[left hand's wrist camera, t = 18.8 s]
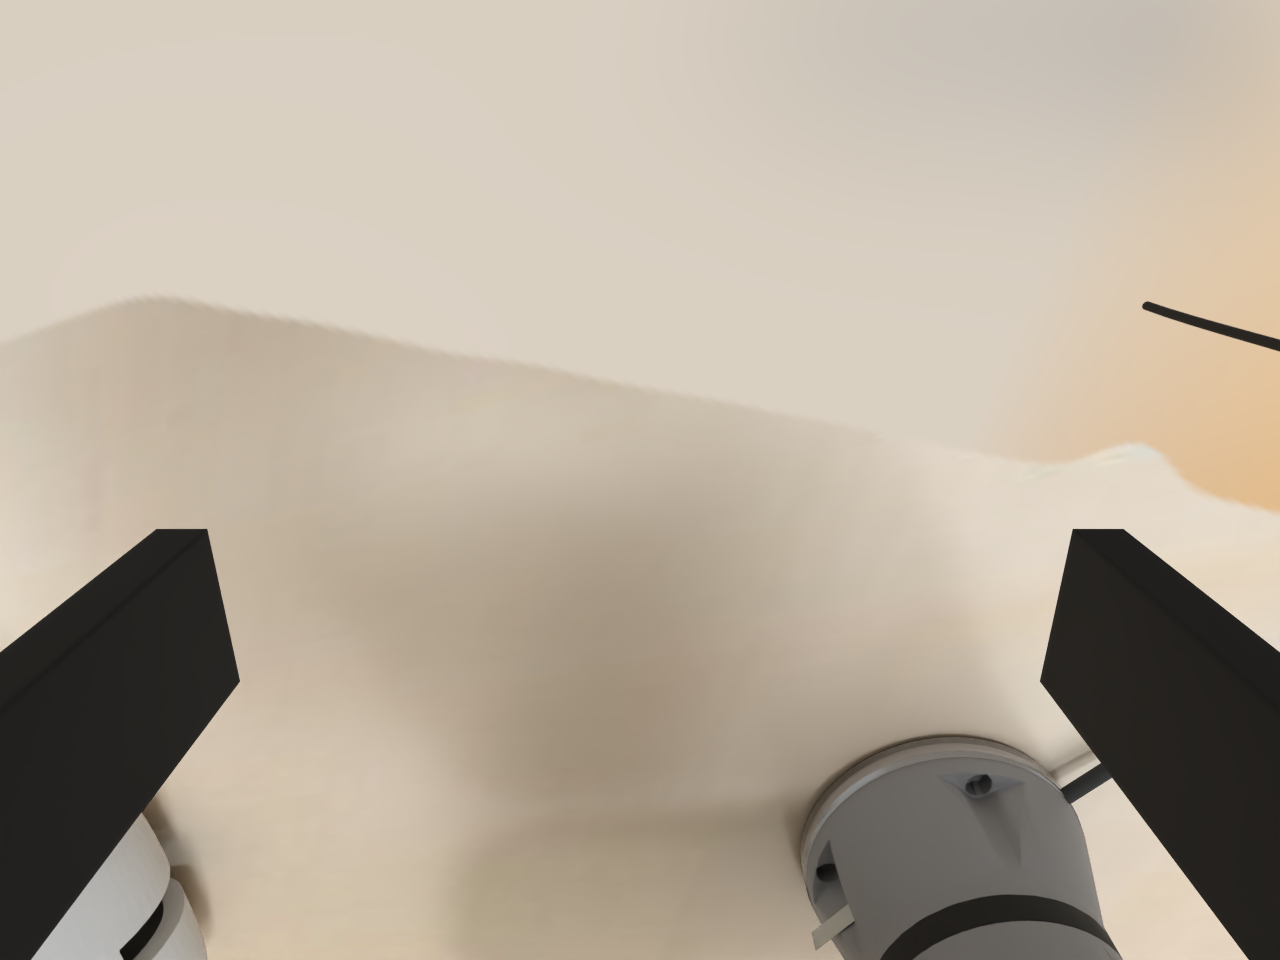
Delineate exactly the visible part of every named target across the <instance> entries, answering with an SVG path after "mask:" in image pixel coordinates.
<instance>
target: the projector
mask: <svg viewBox="0 0 1280 960" xmlns="http://www.w3.org/2000/svg"><path fill="white" fill-rule="evenodd" d="M31 960H207V952H206V947H205V943H204V939H203V936H202V933H201V930H200V927H199V924H198V922H197V919H196V917H195V915H194V912H193V910H192V908H191V905H190V903H189V901H188V899H187V897H186V895H185V893H184V891H183V888H182V886H181V885H180V883H179V882H178V881H177V880H175V879H173V878H170V865H169V861H168V858H167V856H166V854H165V852H164V850H163V848H162V847H161V845H160V843H159V841H158V839H157V837H156V835H155V833H154V832H153V830H152V828H151V826H150V825H149V823H148V821H147V820H146V818H145V817H144V815H143V814H142V813H141V814H140V815H139V817H138V818H137V819H136V821H135V822H134V823H133V825H132V826H131V827H130V829H129V830H128V831H127V833H126V834H125V835H124V837H123V838H122V839H121V841H120V842H119V843H118V845H117V846H116V847H115V849H114V850H113V851H112V853H111V854H110V855H109V857H108V858H107V859H106V861H105V862H104V863H103V865H102V866H101V867H100V869H99V870H98V871H97V873H96V874H95V875H94V877H93V878H92V879H91V881H90V882H89V883H88V885H87V886H86V887H85V889H84V890H83V891H82V893H81V894H80V895H79V897H78V898H77V899H76V901H75V902H74V903H73V905H72V906H71V907H70V909H69V910H68V911H67V913H66V914H65V915H64V917H63V918H62V919H61V921H60V922H59V923H58V925H57V926H56V927H55V929H54V930H53V931H52V933H51V934H50V935H49V937H48V938H47V939H46V941H45V942H44V943H43V945H42V946H41V947H40V949H39V950H38V951H37V953H36V954H35V955H34V957H33V958H32V959H31Z"/></svg>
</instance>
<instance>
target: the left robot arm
mask: <svg viewBox="0 0 1280 960" xmlns="http://www.w3.org/2000/svg"><path fill="white" fill-rule="evenodd" d="M1142 308H1143V309H1144V310H1146V311H1149V312H1152V313H1155V314H1158V315H1161V316H1163V317H1167V318H1169V319H1172V320H1176V321H1179V322H1182V323H1185V324H1188V325H1191V326H1195V327H1198V328H1201V329H1204V330H1208V331H1211V332H1215V333H1218V334H1221V335H1225V336H1228V337H1231V338H1235V339H1238V340H1242V341H1245V342H1248V343H1252V344H1256V345H1259V346H1262V347H1266V348H1269V349H1272V350H1276V351H1279V352H1280V339H1276V338H1273V337H1269V336H1265V335H1261V334H1258V333H1254V332H1251V331H1247V330H1243V329H1239V328H1236V327H1232V326H1229V325H1225V324H1221V323H1218V322H1214V321H1211V320H1207V319H1204V318H1200V317H1197V316H1193V315H1190V314H1187V313H1183V312H1180V311H1177V310H1173V309H1170V308H1167V307H1164V306H1161V305H1158V304H1155V303H1152V302H1149V301H1147V302H1144V303H1143V305H1142ZM239 682H240V679H239V674H238V670H237V665H236V661H235V656H234V651H233V647H232V642H231V637H230V633H229V628H228V624H227V619H226V614H225V610H224V605H223V600H222V596H221V591H220V586H219V582H218V577H217V573H216V568H215V563H214V559H213V554H212V549H211V545H210V540H209V535H208V531H207V529H156V530H155V531H154V532H152V533H151V534H150V535H149V536H147V537H146V538H145V539H143V540H142V541H141V542H140V543H138V544H137V545H136V546H135V547H133V548H132V549H131V550H129V551H128V552H127V553H126V554H124V555H123V556H122V557H121V558H119V559H118V560H117V561H116V562H114V563H113V564H112V565H110V566H109V567H108V568H107V569H105V570H104V571H103V572H102V573H100V574H99V575H98V576H97V577H95V578H94V579H93V580H91V581H90V582H89V583H88V584H86V585H85V586H84V587H83V588H81V589H80V590H79V591H77V592H76V593H75V594H74V595H72V596H71V597H70V598H69V599H67V600H66V601H65V602H64V603H62V604H61V605H60V606H58V607H57V608H56V609H55V610H53V611H52V612H51V613H50V614H48V615H47V616H46V617H45V618H43V619H42V620H41V621H39V622H38V623H37V624H36V625H34V626H33V627H32V628H31V629H29V630H28V631H27V632H25V633H24V634H23V635H22V636H20V637H19V638H18V639H17V640H15V641H14V642H13V643H12V644H10V645H9V646H8V647H6V648H5V649H4V650H3V651H1V652H0V960H31V959H32V958H33V957H34V955H35V954H36V953H37V951H38V950H39V949H40V947H41V946H42V945H43V943H44V942H45V941H46V939H47V938H48V937H49V935H50V934H51V933H52V931H53V930H54V929H55V927H56V926H57V925H58V923H59V922H60V921H61V919H62V918H63V917H64V915H65V914H66V913H67V911H68V910H69V909H70V907H71V906H72V905H73V903H74V902H75V901H76V899H77V898H78V897H79V895H80V894H81V893H82V891H83V890H84V889H85V887H86V886H87V885H88V883H89V882H90V881H91V879H92V878H93V877H94V875H95V874H96V873H97V871H98V870H99V869H100V867H101V866H102V865H103V863H104V862H105V861H106V859H107V858H108V857H109V855H110V854H111V853H112V851H113V850H114V849H115V847H116V846H117V845H118V843H119V842H120V841H121V839H122V838H123V837H124V835H125V834H126V833H127V831H128V830H129V829H130V827H131V826H132V825H133V823H134V822H135V821H136V819H137V818H138V817H139V815H140V814H141V813H142V811H143V810H144V809H145V807H146V806H147V805H148V803H149V802H150V801H151V799H152V798H153V797H154V795H155V794H156V793H157V791H158V790H159V789H160V787H161V786H162V785H163V783H164V782H165V781H166V779H167V778H168V777H169V775H170V774H171V773H172V771H173V770H174V769H175V767H176V766H177V765H178V763H179V762H180V761H181V759H182V758H183V757H184V755H185V754H186V753H187V751H188V750H189V749H190V747H191V746H192V745H193V743H194V742H195V741H196V739H197V738H198V737H199V735H200V734H201V733H202V731H203V730H204V729H205V727H206V726H207V725H208V723H209V722H210V721H211V719H212V718H213V717H214V715H215V714H216V713H217V711H218V710H219V709H220V707H221V706H222V705H223V703H224V702H225V701H226V699H227V698H228V697H229V695H230V694H231V693H232V691H233V690H234V689H235V687H236V686H237V685H238V683H239ZM1040 682H1041V683H1042V685H1043V686H1044V687H1045V689H1046V690H1047V691H1048V693H1049V694H1050V695H1051V697H1052V698H1053V699H1054V701H1055V702H1056V703H1057V705H1058V706H1059V707H1060V709H1061V710H1062V711H1063V713H1064V714H1065V715H1066V717H1067V718H1068V719H1069V721H1070V722H1071V723H1072V725H1073V726H1074V727H1075V729H1076V730H1077V731H1078V733H1079V734H1080V735H1081V737H1082V738H1083V739H1084V741H1085V742H1086V743H1087V745H1088V746H1089V747H1090V749H1091V750H1092V751H1093V753H1094V754H1095V755H1096V757H1097V758H1098V759H1099V761H1100V762H1101V764H1099V765H1097V766H1096V767H1094V768H1093V769H1091V770H1090V771H1088V772H1087V773H1085V774H1083V775H1082V776H1080V777H1079V778H1077V779H1076V780H1074V781H1072V782H1071V783H1069V784H1068V785H1066V786H1065V787H1063V788H1060V787H1059V785H1058V784H1057V782H1056V781H1055V780H1054V778H1053V777H1052V776H1051V775H1050V774H1049V773H1048V772H1047V770H1046V769H1044V768H1043V767H1042V766H1041V765H1040V764H1039V763H1037V762H1036V761H1034V760H1033V759H1032V758H1030V757H1029V756H1027V755H1025V754H1023V753H1021V752H1019V751H1018V750H1015V749H1013V748H1010V747H1008V746H1005V745H1002V744H999V743H996V742H992V741H987V740H982V739H976V738H967V737H938V738H930V739H923V740H918V741H913V742H909V743H905V744H902V745H898V746H895V747H892V748H890V749H887V750H884V751H882V752H880V753H877V754H875V755H873V756H871V757H869V758H867V759H866V760H864V761H862V762H860V763H858V764H857V765H855V766H854V767H853V768H851V769H850V770H848V771H847V772H846V773H844V774H843V775H842V776H841V777H839V778H838V779H837V780H836V781H835V782H834V783H833V784H832V785H831V786H830V787H829V788H828V789H827V790H826V791H825V793H824V794H823V795H822V796H821V797H820V799H819V800H818V802H817V803H816V805H815V806H814V808H813V810H812V811H811V813H810V815H809V817H808V820H807V822H806V824H805V827H804V831H803V834H802V840H801V846H800V858H801V866H802V871H803V875H804V880H805V884H806V889H807V893H808V897H809V899H810V902H811V904H812V907H813V909H814V910H815V912H816V915H817V917H818V919H819V920H820V922H821V924H822V925H821V926H819V927H818V928H817V929H816V930H814V931H813V932H812V936H813V940H814V945H815V950H817V949H819V948H820V947H821V946H822V945H824V944H825V943H826V942H828V941H829V940H830V939H832V941H833V942H834V944H835V945H836V947H837V948H838V950H839V952H840V953H841V955H842V956H843V958H844V959H845V960H1123V959H1122V957H1121V956H1120V954H1119V952H1118V951H1117V949H1116V947H1115V946H1114V944H1113V942H1112V941H1111V939H1110V937H1109V935H1108V933H1107V932H1106V930H1105V928H1104V926H1103V921H1102V916H1101V911H1100V907H1099V902H1098V897H1097V893H1096V888H1095V883H1094V878H1093V874H1092V869H1091V864H1090V859H1089V855H1088V850H1087V845H1086V841H1085V836H1084V833H1083V830H1082V827H1081V824H1080V821H1079V819H1078V816H1077V814H1076V812H1075V810H1074V808H1073V806H1072V805H1071V803H1073V802H1074V801H1076V800H1077V799H1079V798H1081V797H1082V796H1084V795H1085V794H1087V793H1088V792H1090V791H1092V790H1093V789H1095V788H1096V787H1098V786H1100V785H1101V784H1103V783H1104V782H1106V781H1107V780H1109V779H1111V778H1113V779H1114V781H1115V782H1116V783H1117V785H1118V786H1119V787H1120V789H1121V790H1122V791H1123V793H1124V794H1125V795H1126V797H1127V798H1128V799H1129V801H1130V802H1131V803H1132V805H1133V806H1134V807H1135V809H1136V810H1137V811H1138V813H1139V814H1140V815H1141V817H1142V818H1143V819H1144V821H1145V822H1146V823H1147V825H1148V826H1149V827H1150V829H1151V830H1152V831H1153V833H1154V834H1155V835H1156V837H1157V838H1158V839H1159V841H1160V842H1161V843H1162V845H1163V846H1164V847H1165V849H1166V850H1167V851H1168V853H1169V854H1170V855H1171V857H1172V858H1173V859H1174V861H1175V862H1176V863H1177V865H1178V866H1179V867H1180V869H1181V870H1182V871H1183V873H1184V874H1185V875H1186V877H1187V878H1188V879H1189V881H1190V882H1191V883H1192V885H1193V886H1194V887H1195V889H1196V890H1197V891H1198V893H1199V894H1200V895H1201V897H1202V898H1203V899H1204V901H1205V902H1206V903H1207V905H1208V906H1209V907H1210V909H1211V910H1212V911H1213V913H1214V914H1215V915H1216V917H1217V918H1218V919H1219V921H1220V922H1221V923H1222V925H1223V926H1224V927H1225V929H1226V930H1227V931H1228V933H1229V934H1230V935H1231V937H1232V938H1233V939H1234V941H1235V942H1236V943H1237V945H1238V946H1239V947H1240V949H1241V950H1242V951H1243V953H1244V954H1245V955H1246V957H1247V958H1248V959H1249V960H1280V652H1279V651H1277V650H1276V649H1275V648H1274V647H1272V646H1271V645H1270V644H1268V643H1267V642H1266V641H1265V640H1263V639H1262V638H1261V637H1260V636H1258V635H1257V634H1256V633H1255V632H1253V631H1252V630H1251V629H1249V628H1248V627H1247V626H1246V625H1244V624H1243V623H1242V622H1241V621H1239V620H1238V619H1237V618H1235V617H1234V616H1233V615H1232V614H1230V613H1229V612H1228V611H1227V610H1225V609H1224V608H1223V607H1222V606H1220V605H1219V604H1218V603H1216V602H1215V601H1214V600H1213V599H1211V598H1210V597H1209V596H1208V595H1206V594H1205V593H1204V592H1203V591H1201V590H1200V589H1199V588H1197V587H1196V586H1195V585H1194V584H1192V583H1191V582H1190V581H1189V580H1187V579H1186V578H1185V577H1183V576H1182V575H1181V574H1180V573H1178V572H1177V571H1176V570H1175V569H1173V568H1172V567H1171V566H1170V565H1168V564H1167V563H1166V562H1164V561H1163V560H1162V559H1161V558H1159V557H1158V556H1157V555H1156V554H1154V553H1153V552H1152V551H1151V550H1149V549H1148V548H1147V547H1145V546H1144V545H1143V544H1142V543H1140V542H1139V541H1138V540H1137V539H1135V538H1134V537H1133V536H1131V535H1130V534H1129V533H1128V532H1126V531H1125V530H1124V529H1073V531H1072V535H1071V540H1070V545H1069V549H1068V554H1067V559H1066V563H1065V568H1064V573H1063V577H1062V582H1061V586H1060V591H1059V596H1058V600H1057V605H1056V610H1055V614H1054V619H1053V624H1052V628H1051V633H1050V637H1049V642H1048V647H1047V651H1046V656H1045V661H1044V665H1043V670H1042V674H1041V679H1040Z"/></svg>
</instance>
